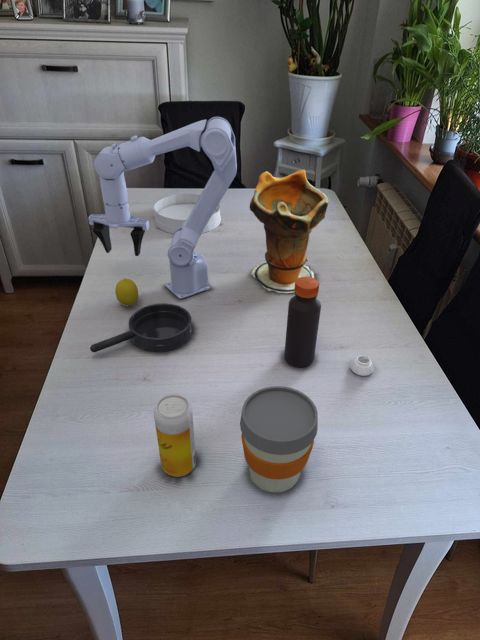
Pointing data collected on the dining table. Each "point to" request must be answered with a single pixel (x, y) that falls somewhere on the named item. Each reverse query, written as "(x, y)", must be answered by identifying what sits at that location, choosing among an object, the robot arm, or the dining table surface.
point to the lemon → (126, 292)
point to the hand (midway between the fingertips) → (123, 252)
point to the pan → (161, 327)
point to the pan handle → (111, 341)
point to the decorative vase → (286, 227)
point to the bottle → (302, 323)
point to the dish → (180, 212)
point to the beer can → (175, 435)
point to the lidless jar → (362, 365)
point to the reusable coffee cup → (277, 436)
